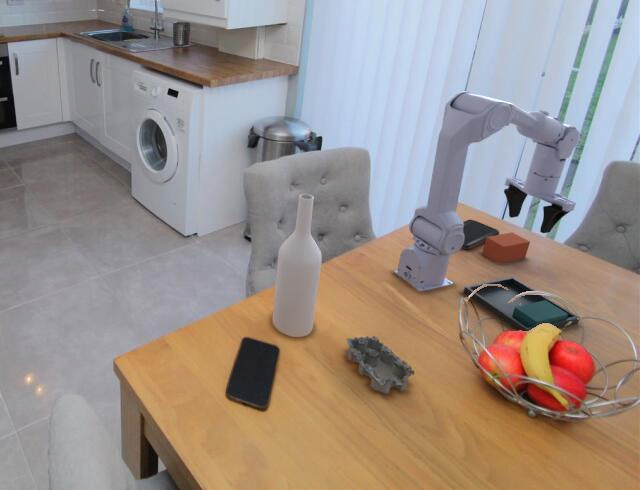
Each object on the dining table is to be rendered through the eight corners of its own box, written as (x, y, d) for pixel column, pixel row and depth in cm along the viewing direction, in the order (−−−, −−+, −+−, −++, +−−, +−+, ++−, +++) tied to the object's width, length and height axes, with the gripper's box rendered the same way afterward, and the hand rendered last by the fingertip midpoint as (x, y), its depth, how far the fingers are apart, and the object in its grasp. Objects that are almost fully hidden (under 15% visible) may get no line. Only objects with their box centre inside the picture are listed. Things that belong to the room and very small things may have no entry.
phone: (501, 231, 128) (467, 246, 122) (500, 234, 129) (466, 250, 123) (470, 218, 135) (437, 232, 129) (469, 222, 135) (436, 236, 129)
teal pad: (533, 331, 96) (536, 321, 95) (511, 316, 100) (514, 307, 99) (564, 324, 97) (568, 314, 96) (542, 309, 101) (545, 300, 100)
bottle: (288, 305, 106) (301, 183, 95) (320, 326, 100) (338, 197, 89) (264, 321, 102) (274, 194, 91) (296, 343, 95) (312, 211, 84)
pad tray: (525, 338, 95) (528, 330, 94) (462, 293, 108) (464, 286, 107) (577, 325, 97) (580, 317, 97) (510, 283, 110) (512, 276, 110)
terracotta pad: (498, 264, 117) (503, 246, 115) (481, 254, 121) (486, 237, 119) (524, 258, 119) (530, 241, 117) (507, 249, 123) (512, 232, 121)
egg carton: (413, 391, 84) (418, 373, 83) (373, 397, 83) (377, 379, 82) (377, 346, 94) (380, 329, 93) (341, 350, 93) (344, 334, 92)
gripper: (593, 183, 105) (574, 236, 110) (527, 159, 118) (513, 207, 123) (567, 187, 103) (549, 241, 108) (504, 162, 116) (490, 211, 121)
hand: (528, 224), depth 115 cm, fingers open, 7 cm apart
